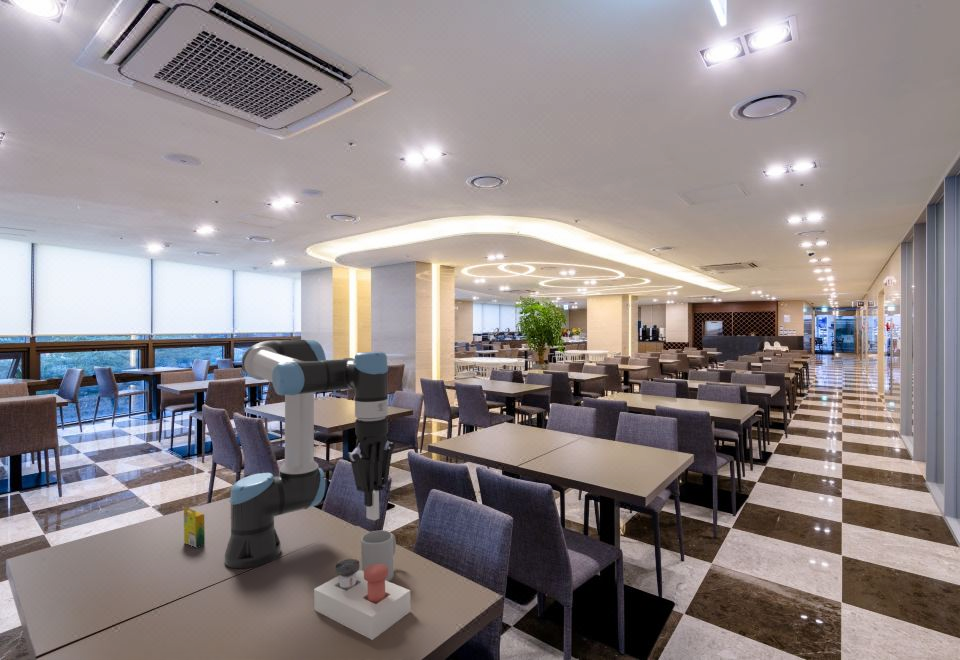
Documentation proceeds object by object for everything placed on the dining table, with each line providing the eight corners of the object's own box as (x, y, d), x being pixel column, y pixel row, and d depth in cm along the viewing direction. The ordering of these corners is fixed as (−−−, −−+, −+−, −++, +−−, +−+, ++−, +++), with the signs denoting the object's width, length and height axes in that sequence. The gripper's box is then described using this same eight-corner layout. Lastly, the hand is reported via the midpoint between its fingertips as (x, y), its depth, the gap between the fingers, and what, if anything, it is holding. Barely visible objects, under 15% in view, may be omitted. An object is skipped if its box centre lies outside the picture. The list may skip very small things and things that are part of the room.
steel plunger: (331, 604, 111) (330, 566, 111) (349, 593, 116) (349, 556, 116) (346, 612, 108) (345, 572, 108) (364, 600, 113) (364, 562, 113)
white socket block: (314, 610, 110) (314, 589, 110) (353, 586, 120) (353, 567, 120) (372, 640, 99) (371, 616, 99) (410, 611, 109) (410, 590, 109)
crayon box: (205, 545, 146) (204, 508, 146) (195, 548, 143) (194, 511, 143) (193, 539, 150) (192, 504, 150) (183, 543, 147) (183, 507, 147)
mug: (380, 588, 119) (380, 546, 119) (354, 581, 122) (354, 540, 122) (407, 567, 129) (406, 528, 129) (382, 561, 133) (381, 523, 133)
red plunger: (359, 612, 106) (358, 572, 106) (377, 600, 110) (376, 561, 110) (376, 620, 102) (375, 579, 103) (394, 607, 107) (393, 568, 107)
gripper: (361, 424, 100) (362, 532, 100) (402, 414, 111) (403, 512, 111) (338, 420, 104) (339, 524, 104) (380, 412, 115) (382, 506, 115)
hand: (372, 518), depth 107 cm, fingers closed
